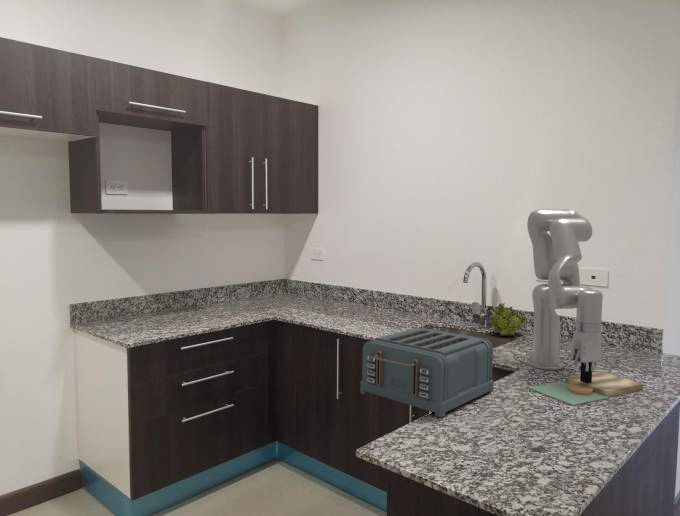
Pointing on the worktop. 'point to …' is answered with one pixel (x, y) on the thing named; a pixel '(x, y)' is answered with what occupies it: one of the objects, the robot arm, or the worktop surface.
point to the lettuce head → (506, 321)
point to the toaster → (428, 368)
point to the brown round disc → (580, 389)
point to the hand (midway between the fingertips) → (585, 381)
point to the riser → (608, 384)
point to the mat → (566, 393)
